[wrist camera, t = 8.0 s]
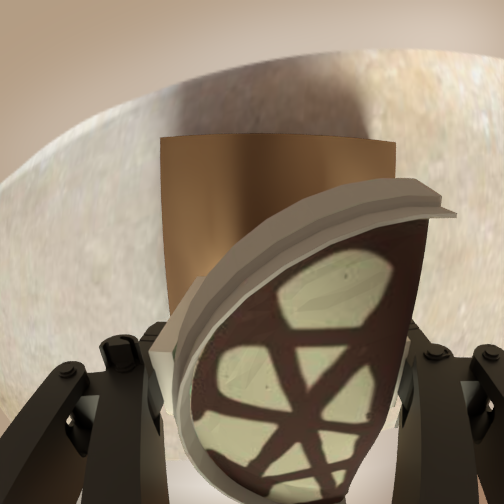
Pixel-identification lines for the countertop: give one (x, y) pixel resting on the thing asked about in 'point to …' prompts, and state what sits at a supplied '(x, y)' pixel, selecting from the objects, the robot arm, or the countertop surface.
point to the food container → (302, 342)
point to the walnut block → (247, 189)
